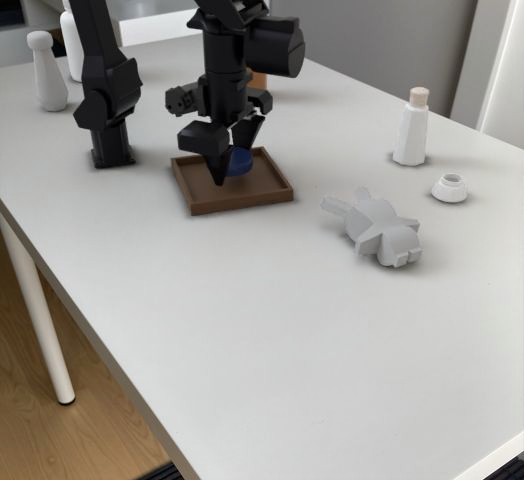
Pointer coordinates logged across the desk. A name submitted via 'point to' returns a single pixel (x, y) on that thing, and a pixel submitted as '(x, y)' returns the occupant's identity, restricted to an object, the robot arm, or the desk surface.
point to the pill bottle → (72, 42)
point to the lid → (239, 162)
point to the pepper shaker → (413, 130)
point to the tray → (230, 184)
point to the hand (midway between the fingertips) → (229, 175)
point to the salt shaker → (47, 72)
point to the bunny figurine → (377, 228)
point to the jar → (258, 80)
